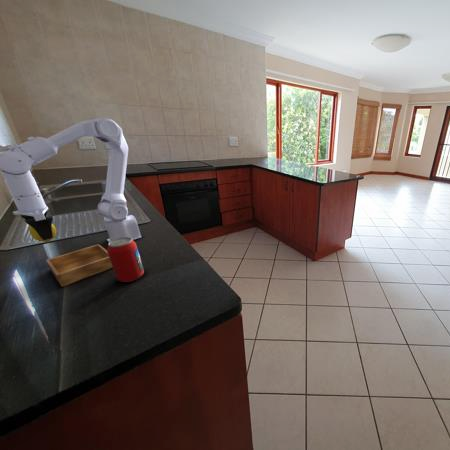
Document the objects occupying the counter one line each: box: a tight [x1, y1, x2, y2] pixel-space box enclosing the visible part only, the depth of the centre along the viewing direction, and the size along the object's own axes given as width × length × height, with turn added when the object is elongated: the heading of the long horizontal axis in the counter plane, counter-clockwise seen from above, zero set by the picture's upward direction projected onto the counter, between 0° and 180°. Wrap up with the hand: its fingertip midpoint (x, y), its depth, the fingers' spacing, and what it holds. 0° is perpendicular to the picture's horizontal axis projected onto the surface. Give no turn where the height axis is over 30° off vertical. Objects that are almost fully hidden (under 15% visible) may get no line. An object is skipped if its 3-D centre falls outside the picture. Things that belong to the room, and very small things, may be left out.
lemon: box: [28, 223, 57, 243], centre depth 73 cm, size 6×6×8 cm
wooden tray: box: [45, 243, 113, 287], centre depth 74 cm, size 13×13×4 cm
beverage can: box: [106, 237, 145, 283], centre depth 68 cm, size 7×7×12 cm
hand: (45, 236), depth 74 cm, fingers closed on lemon, 5 cm apart
